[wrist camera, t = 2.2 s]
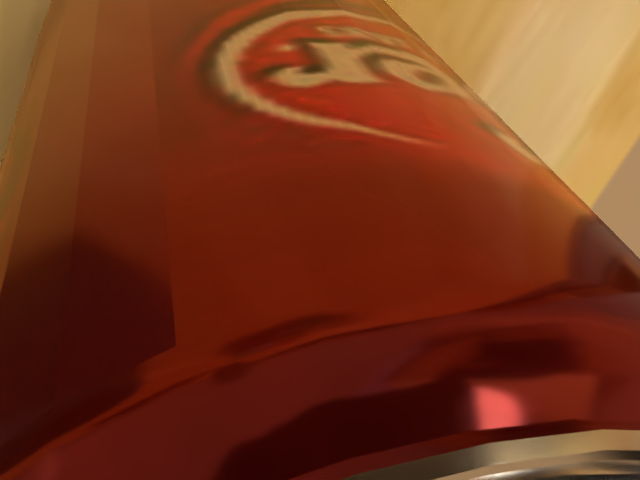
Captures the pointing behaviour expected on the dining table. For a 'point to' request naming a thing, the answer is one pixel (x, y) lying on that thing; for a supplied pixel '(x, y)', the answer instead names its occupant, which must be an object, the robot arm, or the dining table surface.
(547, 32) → the dining table surface
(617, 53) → the dining table surface
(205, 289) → the soda can
